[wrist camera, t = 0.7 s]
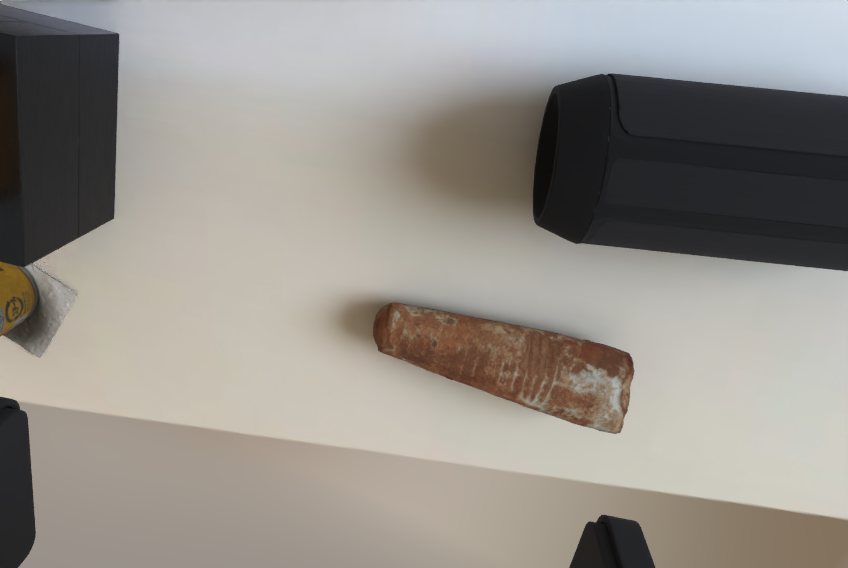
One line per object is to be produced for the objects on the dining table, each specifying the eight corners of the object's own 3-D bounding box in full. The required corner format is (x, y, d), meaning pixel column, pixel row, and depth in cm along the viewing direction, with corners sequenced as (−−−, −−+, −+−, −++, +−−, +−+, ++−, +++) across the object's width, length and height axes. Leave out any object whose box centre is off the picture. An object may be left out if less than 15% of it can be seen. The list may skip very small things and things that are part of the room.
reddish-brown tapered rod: (599, 406, 49) (614, 451, 44) (369, 339, 48) (357, 377, 43) (632, 339, 46) (652, 379, 41) (390, 268, 45) (379, 299, 40)
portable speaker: (525, 212, 43) (540, 263, 34) (548, 63, 39) (573, 75, 30) (893, 250, 42) (1011, 313, 33) (955, 102, 38) (1108, 127, 29)
